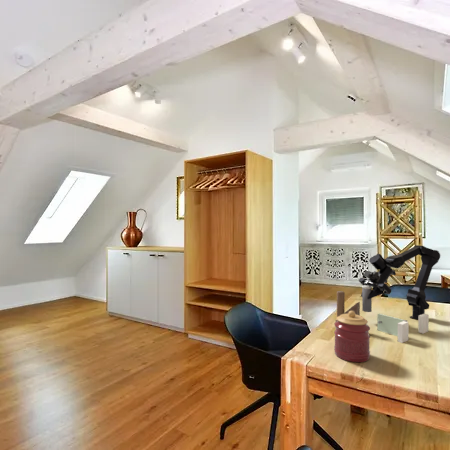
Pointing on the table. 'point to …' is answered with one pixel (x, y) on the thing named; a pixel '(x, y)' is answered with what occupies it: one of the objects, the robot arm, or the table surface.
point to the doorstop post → (365, 301)
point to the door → (388, 324)
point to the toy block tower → (341, 305)
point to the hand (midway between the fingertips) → (364, 297)
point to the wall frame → (422, 327)
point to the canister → (352, 337)
